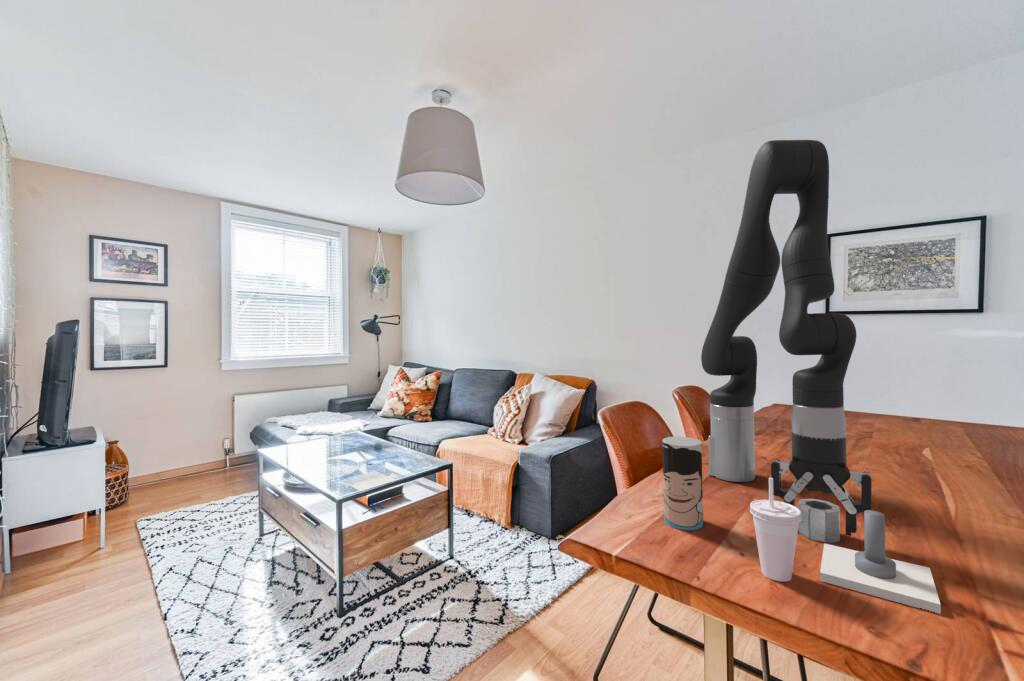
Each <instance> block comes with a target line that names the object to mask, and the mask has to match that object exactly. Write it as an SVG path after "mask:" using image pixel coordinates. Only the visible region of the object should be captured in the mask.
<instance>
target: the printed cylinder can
mask: <svg viewBox="0 0 1024 681" xmlns="http://www.w3.org/2000/svg"><path fill="white" fill-rule="evenodd" d="M661 444H662V482H663V483H662V484H663V486H662V487H663V522H666V523H667V524H666V523H665V524H666V525H667V526H669V525H670V527H671V528H674V529H677V530H680V531H681V530H683V531H696V530H699V529H701V528H703V527H704V505H703V504H704V502H703V494H704V492H703V456H702V455H703V452H702V447H703V446H702V444H703V443H702V441H701V440H700V439H696V438H694V437H687V436H668V437H665V438H663V439H662V442H661Z"/></svg>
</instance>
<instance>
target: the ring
mask: <svg viewBox="0 0 1024 681" xmlns="http://www.w3.org/2000/svg"><path fill="white" fill-rule="evenodd" d="M797 504H798V506H797V508H798V509H799V510H800V511H801V517H802V521H801V522H799V525H798V533H799V534H800V535H802V536H804V537H805V538H807V539H810V540H813V541H817V542H821V543H826V544H831V543H839V542H840V539H841V520H840V519H841V517H840V516H841V515H840V513H841V512H840V511H841V510H840V509H841V508H840V506H839V505H837V504H835V503H832V502H830V501H827V500H823V499H817V498H801V499H799V500H798V503H797Z"/></svg>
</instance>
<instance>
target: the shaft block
mask: <svg viewBox="0 0 1024 681" xmlns="http://www.w3.org/2000/svg"><path fill="white" fill-rule="evenodd" d="M863 513H864V514H863V517H864V518H863V520H864V522H863V523H864V524H863V525H864V533H863V534H864V551H859V550H854V549H850V548H847V547H841V546H839V545H833V544H830V543H826V542H823V550H822V555H821V557H822V558H821V561H820V562H821V564H820V569H819V570H820V571H819V581H820V582H823V583H827V584H830V585H834V586H837V587H840V588H845V589H848V590H851V591H855V592H860V593H863V594H865V595H866V594H867V595H868V596H869V595H870V596H874V597H878V598H881V599H884V600H887V601H892V602H896V603H897V604H898V603H900V604H902V605H906V606H910V607H912V608H913V607H914V608H917V609H920V608H922V609H921V610H924V609H927V610H930V611H929V612H931V611H932V612H931V613H934V612H935V613H934V614H939V615H941V613H942V611H941V610H942V608H941V602H940V598H939V594H938V591H937V588H936V584H935V581H934V577H933V574H932V571H931V568H930V567H927V566H924V565H919V564H915V563H911V562H907V561H903V560H898V559H893V558H889V557H888V556H886V521H885V520H886V515H885V514H884V513H882V512H880V511H877V510H872V509H871V510H866V511H864V512H863ZM927 610H926V611H927Z"/></svg>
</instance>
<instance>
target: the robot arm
mask: <svg viewBox="0 0 1024 681" xmlns="http://www.w3.org/2000/svg"><path fill="white" fill-rule="evenodd" d="M829 186H830V160H829V154H828V149H827V148H826V146H825V144H824V143H823V142H821V140H820V141H819V140H815V139H775V140H774V139H773V140H768V141H766V142H764V143H763V144H762V145H761V146H760V148H759V149H758V151H757V152H756V154H755V156H754V159H753V162H752V164H751V169H750V172H749V177H748V183H747V188H746V193H745V199H744V204H743V210H742V216H741V220H740V224H739V228H738V232H737V236H736V239H735V241H734V242H735V243H734V247H733V249H732V250H733V251H732V253H731V257H730V259H729V262H728V266H727V270H726V273H725V278H724V282H723V286H722V290H721V294H720V297H719V301H718V304H717V307H716V311H715V314H714V316H713V319H712V322H711V324H710V326H709V330H708V331H707V334H706V337H705V339H704V342H703V345H702V348H701V356H700V357H701V358H700V359H701V366H702V370H704V372H705V373H706V374H708V375H710V376H717V377H719V376H721V377H722V376H726V377H727V376H730V379H729V381H728V382H726V383H725V384H724V385H722V386H720V387H717V388H716V389H713V390H712V391H711V392H710V394H709V405H710V406H709V411H710V435H708V440H707V441H708V476H710V475H711V476H712V477H714V476H715V478H717V479H719V480H723V481H727V482H733V483H749V482H752V481H754V480H756V466H755V464H756V462H755V461H756V459H755V458H756V455H755V453H756V452H755V448H756V447H755V414H754V413H755V408H754V407H755V406H754V405H755V404H754V401H755V396H756V392H757V375H758V374H757V373H758V352H757V347H756V345H755V342H754V340H753V339H751V338H750V337H749V336H746V335H736V336H735V335H734V334H735V332H736V331H737V329H738V327H739V326H740V325H741V324H742V322H744V320H745V319H747V318H748V316H749V315H751V314H752V313H753V312H754V311H755V310H756V309H757V308H758V307H759V306H761V304H763V303H764V301H765V300H767V298H768V296H769V295H770V294H771V292H772V290H773V288H774V284H775V281H776V278H777V275H778V272H779V270H780V266H781V271H782V278H783V286H784V303H783V311H782V315H781V321H780V325H779V331H778V334H779V335H778V338H779V341H780V342H779V343H780V344H781V347H782V348H783V349H784V351H785V352H787V353H789V354H790V355H793V356H820V358H819V360H818V362H817V364H815V365H813V366H810V367H808V368H807V367H806V368H803V369H799V370H797V371H796V372H794V373H793V376H792V382H791V383H792V409H791V420H790V422H791V460H790V462H787V461H781V460H780V459H778V458H775V459H773V460H772V462H771V463H770V475H771V477H770V478H773V496H774V497H779V498H781V499H782V500H783V501H784V502H785V503H788V504H791V505H793V506H795V507H796V499H795V498H796V497H797V495H799V494H800V493H801V492H802V490H803V489H806V490H807V491H808V492H820V493H822V494H827V495H831V494H834V495H835V497H836V498H837V500H838V501H839V502H840V503H841V504H842V505H843V507H844V508H845V535H846V536H850V537H852V534H856V533H857V522H858V521H857V515H858V514H861V513H864V511H866V510H872V475H871V473H870V472H869V471H862V472H857V471H851V470H850V469H849V467H848V465H847V431H848V430H847V429H848V428H847V419H846V414H845V407H844V403H845V402H844V398H845V397H844V396H845V395H844V383H845V378H846V374H847V371H848V368H849V364H850V360H851V357H852V355H853V352H854V350H855V346H856V342H857V329H856V326H855V323H854V321H853V320H852V319H851V318H850V316H848V315H846V314H845V313H842V312H841V313H840V312H817V313H808V307H809V305H810V304H813V303H817V302H821V301H824V300H827V299H828V298H830V297H832V296H833V294H834V292H835V280H834V274H833V268H832V263H831V257H830V256H831V255H830V251H829V242H828V240H829V239H828V217H829V195H830V194H829V192H830V190H829ZM791 194H793V195H795V194H796V196H797V200H798V205H799V206H798V207H799V211H798V217H797V219H796V222H795V224H794V226H793V228H792V230H791V231H790V234H789V235H788V237H787V239H786V242H785V243H784V246H783V248H782V251H781V252H782V253H781V255H780V252H779V248H778V245H777V243H776V240H775V237H774V235H773V231H772V229H771V224H770V215H771V214H770V213H771V208H772V203H773V200H774V197H775V195H791ZM787 470H789V472H790V473H791V474H792V475H793V476H794V478H795V479H796V480H794V482H793V483H792V484H791V486H790V487H789V488H788V489H784V488H782V486H783V484H782V475H784V474H785V473H786V471H787ZM711 476H710V477H711ZM851 479H852V480H853V481H854V482H855V483H854V484H855V485H856V486H857V487H860V488H861V490H860V491H861V494H860V495H861V497H860V501H854V500H853V498H852V497H851V496H850V494H849V492H848V490H847V489H846V488H845V486H844V485H845V484H846V483H847V482H848V481H849V480H851Z"/></svg>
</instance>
